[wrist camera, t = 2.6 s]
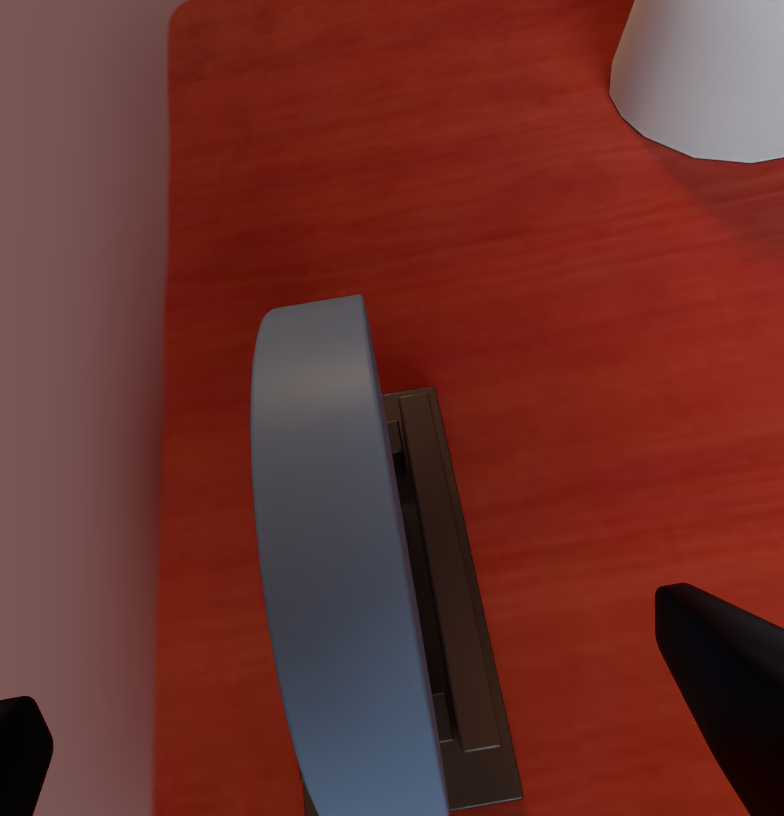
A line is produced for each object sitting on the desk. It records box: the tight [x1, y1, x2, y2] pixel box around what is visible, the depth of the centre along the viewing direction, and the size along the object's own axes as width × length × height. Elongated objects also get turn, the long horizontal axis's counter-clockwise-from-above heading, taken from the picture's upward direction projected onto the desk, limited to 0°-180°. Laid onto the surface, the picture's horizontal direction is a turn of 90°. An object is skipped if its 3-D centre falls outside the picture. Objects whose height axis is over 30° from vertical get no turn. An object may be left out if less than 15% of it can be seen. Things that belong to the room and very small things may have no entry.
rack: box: [299, 386, 524, 816], centre depth 17 cm, size 13×6×4 cm, turn 9°
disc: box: [250, 294, 449, 816], centre depth 13 cm, size 11×2×11 cm, turn 9°
